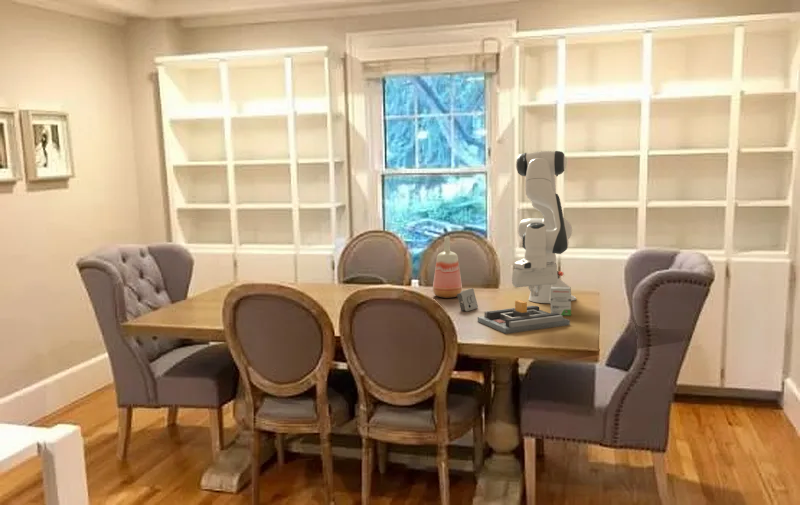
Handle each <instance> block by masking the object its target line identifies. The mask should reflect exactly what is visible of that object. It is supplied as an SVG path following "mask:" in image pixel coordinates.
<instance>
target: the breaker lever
mask: <svg viewBox="0 0 800 505" xmlns="http://www.w3.org/2000/svg"><path fill="white" fill-rule="evenodd" d="M527 306H528V302H527V301H523V300H522V299H518V300H515V301H514V308H515V310H513V317H519V316H527V315H529V312H528V311H527Z"/></svg>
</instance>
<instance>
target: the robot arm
mask: <svg viewBox="0 0 800 505" xmlns="http://www.w3.org/2000/svg"><path fill="white" fill-rule="evenodd" d="M567 163H568V162H567V158H566V156H565V153H564V152H563V151H559V150H555V151H553V150H540V151H533V152H524V153H520V154H519V155H518V156H517V159H516V161H515V169H516V171H517V173H518V175H520V176H521V177H525V180H524V181H525V187H524V188H525V195H526V197H527V198H528V199H529V200H530V202H531V206H532V208H533V209H534V210H535V211H538V212H539V213H541V216H542V217H541V218H540V217H529V218H524V219H522V220H521V221H520V222H519V223H518V226H517V233H518V236H519V237H520V238H521V240H522V248H523V249H524V250H525V252H524V258H522V259H519V260H517V261H515V262H513V268H514V269H513V270H512V278H511V283H512V285H513V286H514V287H515V288H523V287H524V288H525V287H528V290H529V291H530V292H529V296H528V301H530V302H533V303H541V304H551V287H570V285H568V283H566V282H565V281H563V280H562V279H561V278H560V277H563V276H564V272H563V271H561V270H559V271H558V265H557V254H558V255H562V254H563V253H564V252H566V250H568V247H569V243H570V242H569V239H570V238H571V236H572V234H573V227H572V224H571V223H570V221H569V220H567V219H566V218H565V216H564V213H563V208H562V207H563V206H562V203H561V199H560V195H559V194H558V193H557V192H556V186H557V185H556V178H555V176H556V177H559V175H562V174H563V173H564V172H565V171H566V170H565V169H566V168H567V165H568V164H567ZM576 300H577V297H576V296H574V295H572V294H571V302H572V301H576Z"/></svg>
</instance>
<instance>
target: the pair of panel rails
mask: <svg viewBox="0 0 800 505" xmlns="http://www.w3.org/2000/svg"><path fill="white" fill-rule="evenodd" d="M533 309H534V310H537V311H539V310H540V306H538V305H529V306H528V305H527V310H533ZM513 310H515V307H514V308H513V307H511V308H503V309H495V310H486V311H484V315H483V316H485V317H487V318H490V319H491V318H499V317H500V314H501V313H509V312H513ZM548 313H549V314H541V315H534V316H526V317H518V318H510V319H506V325H507V326H509V327H511V328H513V327H520V326H528V325H535V324H543V323H550V322H557V321H563V318H564V315H560V314H559V313H551V312H548Z"/></svg>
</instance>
